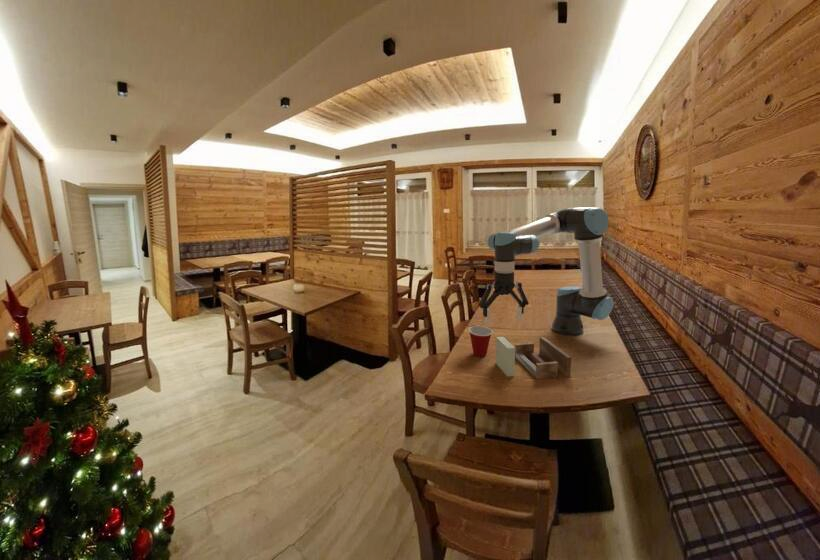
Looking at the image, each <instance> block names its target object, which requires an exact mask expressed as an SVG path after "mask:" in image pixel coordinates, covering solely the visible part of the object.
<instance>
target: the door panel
mask: <svg viewBox="0 0 820 560" xmlns="http://www.w3.org/2000/svg"><path fill="white" fill-rule="evenodd" d="M495 339H496V340H495V365H496V366H497V367H498V368H499V369H500V371H502V372H503V374H504V375H505V376H506V377H514V376H515V373H516V372H515V371H516V370H515V366H516V365H515V363H516V357H515V345H513V344H512V343H511V342H509V341H508V339H506V338H505V337H504V336H497V337H496V338H495Z"/></svg>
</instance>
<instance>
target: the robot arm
mask: <svg viewBox="0 0 820 560" xmlns="http://www.w3.org/2000/svg"><path fill="white" fill-rule="evenodd" d="M609 223H610V220H609V216H608V212H606V211H605V210H604V209H603V208H601V207H595V206H593V207H592V206H588V207H587V206H585V207H584V206H583V207H567V208H564V209H560V210H557V211H554V212H551V213H548V214H546V215H544V217H543V218H540V219H538V220H535V221H532V222H529V223H527V224H524V225H521V226H518V227H516V228H514V229H510V230H507V231H498V232H496V233H491V234H490V235H489V237H488V238H487V246H488V247H489V249H490V250H492V251H494V271H495V272H494V276H493V279H494V283H493V284H490V283H486V288H485V290H484V293H483V295H482V296H481V299H480V301H479V303H478V307H479V308H480V309H482V315H483V317H484V324H485V325H487V326H489V325H490V309H489V307H490V306H491V305H492V304H493V303H494V301H495V300H496V299H497V297H499V296H505V295H506V296H508V295H511V297H512V299H514V300H515V301H516V303H517V305H516V322H518V323H520V324H521V323H522V315H524V311H525V309H524V308H525V307H526V306H528V305H529V304H530V303H529V300H528V298H527V297H526V294H525V292H524V290H523V287H522V286H523V285H522V283H521V282H519V281H516V282H515V272H514V271H515V266H516V265H515V263H516V262H515V259H516V258H515V257H516V256H521V255H530V254H533V253H536V252H537V251H538V250H539V247H540V241H539V239H538V238H540V237H543V236H544V237H545V236H546V235H555V234H557V233H558V234H559V233H569V234H573V236H574V240H575V241H576V242H578V251H579V263H580V275H581V284H582V285H581V287H580V286H564V287H560V288H558V289H557V292H556V310H555V317H554V319H553V322H552V324H551V330H552V331H553V332H555V333H558V334H561V335H562V334H563V335H566V336H567V335H568V336H569V335H570V336H576V335H581V334H583V333H584V324H583V320H582V318H581V317H582V316H584V317H587V318H591V319H592V320H598V321H602V320H606V319H607V318H608V317H609V316H610V314H611V313H612V311H613V307H614V300H613V298H612V297H611V296H608V292H607V289H606V288H604V287H603V286H604V285H603V272H602V271H603V270H602V257H601V255H602V254H601V241H600V240H601V239H602V238H603V237H604V234H605V233H606V232H607V230H608V228H609ZM514 288H516V291H517V292H518V294H519V296H518V295H517V294H516V292H515V291H514ZM493 289H494V290H493ZM492 290H493V292H492ZM491 292H492V293H491ZM490 294H491V295H490ZM519 297H520V298H519Z"/></svg>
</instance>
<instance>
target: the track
mask: <svg viewBox="0 0 820 560" xmlns="http://www.w3.org/2000/svg"><path fill="white" fill-rule="evenodd" d="M514 347H515V359H516V360H517V361H518V362H520V363H521V365H523V366H524V367H525V369H527V371H529V372H530V373H531V375H533V377H535V378H536V380H544V379H551V378H554V379H555V378H558V372H561V374H563V375H564V376H565V377H571V372H572V369H571V368H572V356H570V355H569V354H568V353H566V352H565V351H564V350H562V349H561V348H560V347H558V346H557V345H555V343H553V342H551V341H550V340H549V339H547V338H546V337H545V336H540V337H539V348H538V349H539V351H538V354H539V355H540V356H539V355H538V354H537V353H535V343H534V342H533V341H532V342H524V343H514ZM541 357H543V358H544V359H545V360H546V361H545V360H543V358H541ZM528 358H530V359H532V361H534V363H536V364H534V363H533V362H531V360H529V359H528Z"/></svg>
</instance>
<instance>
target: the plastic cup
mask: <svg viewBox="0 0 820 560" xmlns="http://www.w3.org/2000/svg"><path fill="white" fill-rule="evenodd" d="M468 332H469V335H470V336H469V337H470V343H471V348H472V352H473V355H474V356H476V357H479V358H482V357H486V356H487V353H488V351H489V343H490V342H491V341H490V340H491V336H492V334H493V333H494V331H493V329H491V328H490V327H487V326H483V325H472V326H470V327H468Z"/></svg>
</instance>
